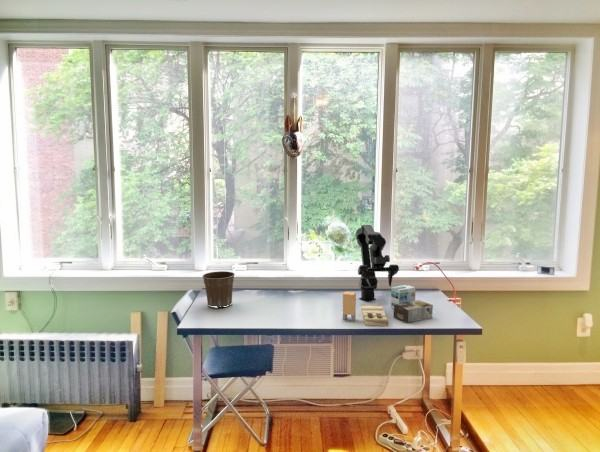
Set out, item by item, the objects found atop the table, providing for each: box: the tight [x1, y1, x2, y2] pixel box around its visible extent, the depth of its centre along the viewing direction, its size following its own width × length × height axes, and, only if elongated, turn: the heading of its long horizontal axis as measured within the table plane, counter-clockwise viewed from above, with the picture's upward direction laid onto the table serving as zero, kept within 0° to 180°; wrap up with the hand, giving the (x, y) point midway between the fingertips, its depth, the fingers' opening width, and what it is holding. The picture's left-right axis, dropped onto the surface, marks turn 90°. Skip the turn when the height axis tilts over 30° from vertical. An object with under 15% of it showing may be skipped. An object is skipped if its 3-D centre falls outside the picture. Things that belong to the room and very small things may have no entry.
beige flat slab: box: [360, 304, 389, 327], centre depth 200 cm, size 22×10×2 cm, turn 177°
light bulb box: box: [390, 284, 417, 310], centre depth 213 cm, size 11×7×11 cm, turn 117°
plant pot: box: [202, 270, 236, 308], centre depth 219 cm, size 16×16×16 cm
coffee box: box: [393, 299, 434, 324], centre depth 199 cm, size 9×6×16 cm
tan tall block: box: [342, 291, 357, 322], centre depth 197 cm, size 4×5×12 cm
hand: (380, 286), depth 199 cm, fingers open, 9 cm apart
